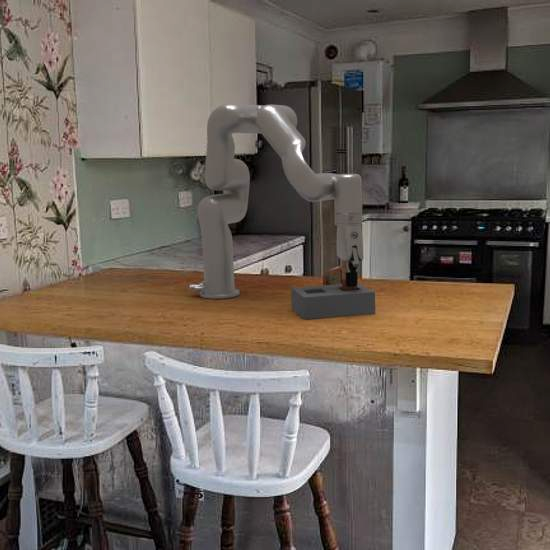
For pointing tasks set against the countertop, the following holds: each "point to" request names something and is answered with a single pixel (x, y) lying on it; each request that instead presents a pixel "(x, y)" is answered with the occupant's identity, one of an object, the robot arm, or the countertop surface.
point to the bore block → (332, 301)
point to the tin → (332, 276)
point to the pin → (344, 270)
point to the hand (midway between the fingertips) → (349, 284)
